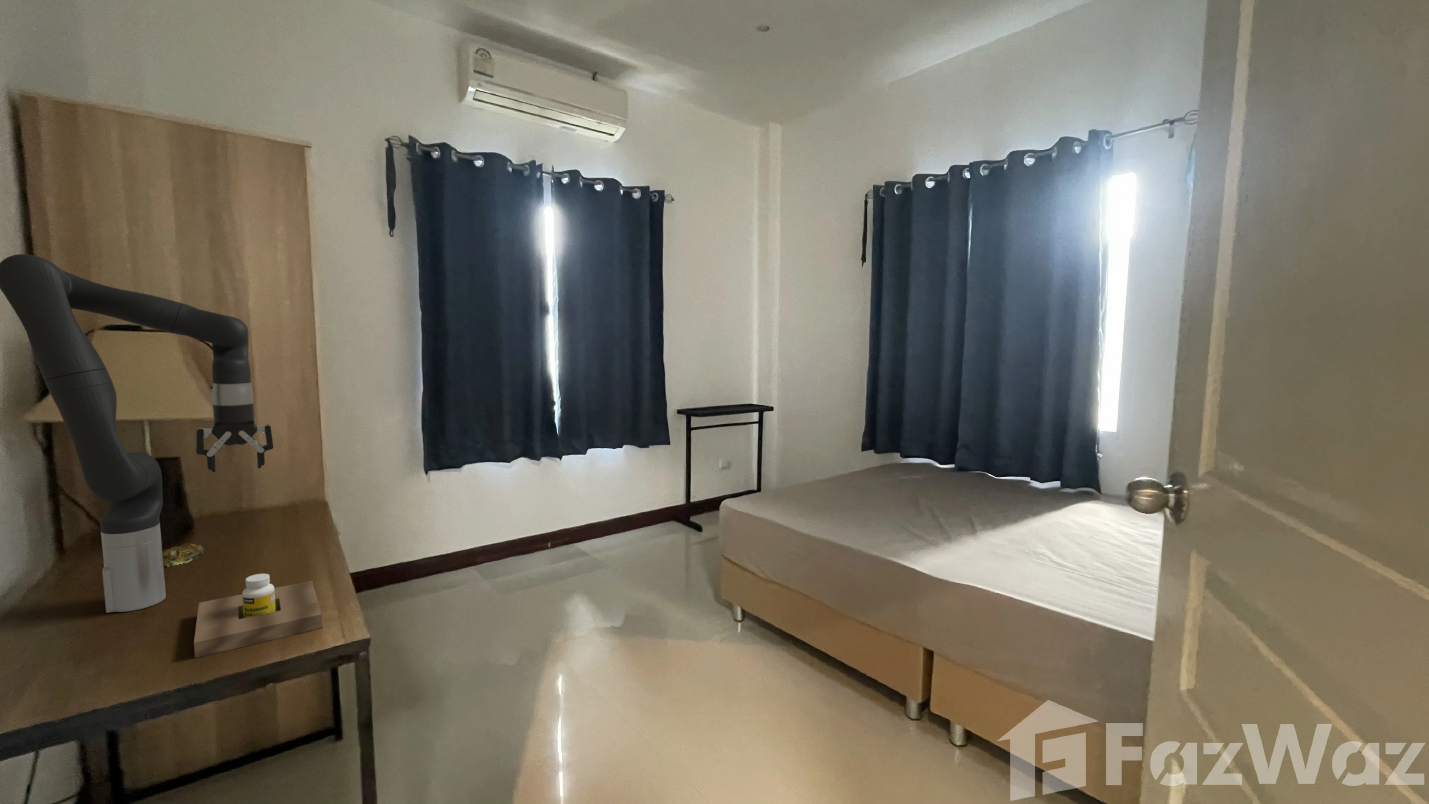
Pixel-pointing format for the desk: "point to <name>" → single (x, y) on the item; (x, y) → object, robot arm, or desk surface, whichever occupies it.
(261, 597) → the supplement bottle
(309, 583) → the socket board
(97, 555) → the desk surface
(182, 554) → the noodle cake
